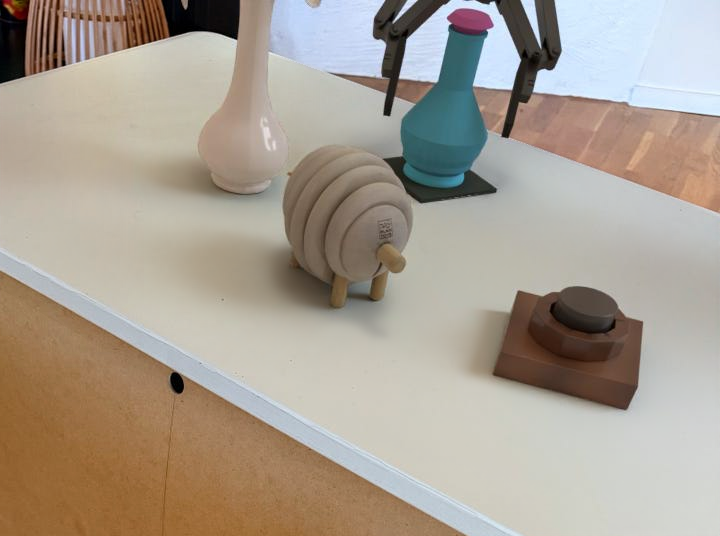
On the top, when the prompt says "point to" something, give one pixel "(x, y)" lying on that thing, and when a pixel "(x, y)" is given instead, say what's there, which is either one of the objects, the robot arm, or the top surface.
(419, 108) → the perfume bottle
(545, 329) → the button block
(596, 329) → the button
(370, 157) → the toy sheep
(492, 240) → the top surface
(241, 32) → the flower vase
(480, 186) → the coaster
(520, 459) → the top surface
